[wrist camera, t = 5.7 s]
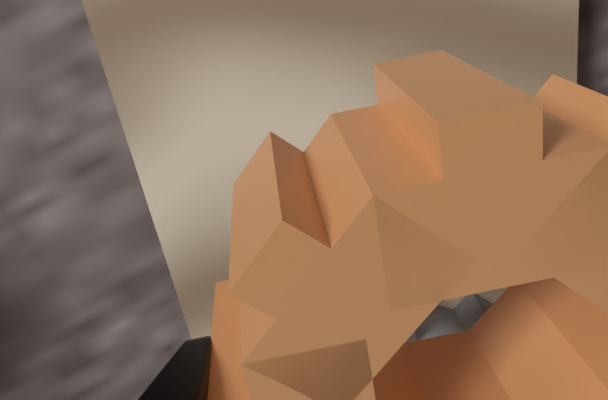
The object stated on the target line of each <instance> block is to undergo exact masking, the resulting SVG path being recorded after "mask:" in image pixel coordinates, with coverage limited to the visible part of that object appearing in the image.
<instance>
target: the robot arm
mask: <svg viewBox="0 0 608 400" xmlns="http://www.w3.org/2000/svg"><path fill="white" fill-rule="evenodd" d="M211 352H212V341H211V336H204V337H199V338H195V339H190V340H187V341H185V342H184V343H183V344H182V346H181V347H180V348H179V349H178V351H177V352H176V353H175V354H174V355H173V357H172V358H171V359H170V360H169V362H168V363H167V364H166V365H165V367H164V368H163V369H162V370H161V372H160V373H159V374H158V375H157V377H156V378H155V379H154V380H153V382H152V383H151V384H150V385H149V386H148V388H147V389H146V390H145V391H144V393H143V394H142V395H141V396H140V398H139V399H138V400H207V396H208V387H209V375H210V363H211Z"/></svg>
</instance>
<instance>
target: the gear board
mask: <svg viewBox="0 0 608 400" xmlns="http://www.w3.org/2000/svg"><path fill="white" fill-rule="evenodd" d="M81 1H82V4H83V7H84V10H85V13H86V16H87V19H88V22H89V25H90V28H91V31H92V34H93V38H94V41H95V44H96V47H97V50H98V53H99V56H100V59H101V62H102V65H103V68H104V71H105V74H106V77H107V81H108V84H109V87H110V90H111V93H112V96H113V99H114V102H115V105H116V108H117V111H118V114H119V117H120V120H121V124H122V127H123V130H124V133H125V136H126V139H127V142H128V145H129V148H130V151H131V154H132V157H133V160H134V164H135V167H136V170H137V173H138V176H139V179H140V182H141V185H142V188H143V191H144V194H145V197H146V200H147V203H148V207H149V210H150V213H151V216H152V219H153V222H154V225H155V228H156V231H157V234H158V237H159V240H160V243H161V246H162V250H163V253H164V256H165V259H166V262H167V265H168V268H169V271H170V274H171V277H172V280H173V283H174V286H175V290H176V293H177V296H178V299H179V302H180V305H181V308H182V311H183V314H184V317H185V320H186V323H187V326H188V329H189V333H190V336H191V339H195V338H199V337H204V336H211V329H212V317H213V306H214V295H215V284H216V282H221V281H226V280H229V262H230V243H231V223H232V204H233V184H234V183H235V181H236V180H237V178H238V177H239V176H240V174H241V173H242V171H243V170H244V168H245V167H246V165H247V164H248V162H249V161H250V159H251V158H252V157H253V155H254V154H255V152H256V151H257V149H258V148H259V146H260V145H261V143H262V142H263V140H264V139H265V138H266V136H267V135H268V133H269V132H270V131H271V132H272V133H274V134H276V135H277V136H279V137H280V138H282V139H284V140H285V141H287V142H288V143H290V144H291V145H293V146H295V147H296V148H298V149H299V150H301V151H302V152H304V151H305V149H306V148H307V147H308V145H309V144H310V142H311V141H312V140H313V138H314V137H315V135H316V134H317V133H318V131H319V130H320V128H321V127H322V126H323V124H324V123H325V121H326V120H327V119H328V117H329V116H330V114H333V113H338V112H343V111H348V110H353V109H358V108H363V107H368V106H373V105H378V101H377V94H376V86H375V78H374V70H373V64H374V63H379V62H384V61H389V60H394V59H399V58H404V57H409V56H414V55H419V54H424V53H429V52H434V51H439V50H443V51H445V52H447V53H449V54H451V55H453V56H455V57H457V58H458V59H460V60H462V61H464V62H466V63H468V64H470V65H472V66H474V67H476V68H478V69H480V70H482V71H484V72H486V73H488V74H490V75H492V76H494V77H496V78H498V79H500V80H502V81H504V82H506V83H507V84H509V85H511V86H513V87H515V88H517V89H519V90H521V91H523V92H525V93H527V94H529V95H531V96H533V97H534V96H535V95H536V94H537V92H538V91H539V90H540V89H541V88H542V86H543V85H544V84H545V83H546V82H547V80H548V79H549V78H550V77H551V76H552V74H553V75H556V76H558V77H561V78H563V79H566V80H568V81H571V82H573V83H576V84H577V59H578V21H579V0H81ZM507 288H508V287H505V288H501V289H496V290H491V291H486V292H481V293H476V294H471V295H467V296H462V297H457V298H452V299H447V300H442V301H441V302H440V303H439V304H438V305H437V307H436V308H435V309H434V310H433V311H432V312H431V313H430V314H429V316H428V317H427V318H426V319H425V320H424V321H423V322H422V324H421V325H420V326H419V327H418V328H417V329H416V330H415V331H414V333H413V334H412V335H411V336H410V337H409V338H408V339H407V341H406V342H405V343H407V342H412V341H417V340H422V339H427V338H431V337H436V336H441V335H446V334H451V333H456V332H460V331H465V330H470V328H471V327H472V326H473V325H474V324H475V323H476V322H477V321H478V320H479V319H480V318H481V316H482V315H483V314H484V313H485V312H486V311H487V310H488V309H489V308H490V307H491V306H492V305H493V303H494V302H495V301H496V300H497V299H498V298H499V297H500V296H501V295H502V294H503V293H504V291H505V290H506V289H507Z"/></svg>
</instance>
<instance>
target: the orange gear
mask: <svg viewBox="0 0 608 400" xmlns="http://www.w3.org/2000/svg"><path fill="white" fill-rule="evenodd" d="M373 70H374V78H375V86H376V94H377V101H378V105H373V106H368V107H363V108H358V109H353V110H348V111H343V112H338V113H333V114H330V116H329V117H328V119H327V120H326V121H325V123H324V124H323V126H322V127H321V128H320V130H319V131H318V133H317V134H316V135H315V137H314V138H313V140H312V141H311V142H310V144H309V145H308V147H307V148H306V149H305V151H304V152H302V151H301V150H299V149H298V148H296V147H295V146H293V145H291V144H290V143H288V142H287V141H285V140H284V139H282V138H280V137H279V136H277V135H276V134H274V133H272V132H271V131H270V132H269V133H268V135H267V136H266V138H265V139H264V140H263V142H262V143H261V145H260V146H259V148H258V149H257V151H256V152H255V154H254V155H253V157H252V158H251V159H250V161H249V162H248V164H247V165H246V167H245V168H244V170H243V171H242V173H241V174H240V176H239V177H238V178H237V180H236V181H235V183H234V184H233V204H232V223H231V243H230V262H229V280H226V281H221V282H216V284H215V295H214V306H213V317H212V329H211V341H212V352H211V363H210V375H209V387H208V396H207V400H608V96H605V95H603V94H600V93H598V92H595V91H593V90H591V89H588V88H586V87H583V86H581V85H578V84H576V83H573V82H571V81H568V80H566V79H563V78H561V77H558V76H556V75H553V74H552V76H551V77H550V78H549V79H548V80H547V82H546V83H545V84H544V85H543V86H542V88H541V89H540V90H539V91H538V92H537V94H536V95H535V96H534V97H533V96H531V95H529V94H527V93H525V92H523V91H521V90H519V89H517V88H515V87H513V86H511V85H509V84H507V83H506V82H504V81H502V80H500V79H498V78H496V77H494V76H492V75H490V74H488V73H486V72H484V71H482V70H480V69H478V68H476V67H474V66H472V65H470V64H468V63H466V62H464V61H462V60H460V59H458V58H457V57H455V56H453V55H451V54H449V53H447V52H445V51H443V50H439V51H434V52H429V53H424V54H419V55H414V56H409V57H404V58H399V59H394V60H389V61H384V62H379V63H374V64H373ZM505 287H508V288H507V289H506V290H505V291H504V293H503V294H502V295H501V296H500V297H499V298H498V299H497V300H496V301H495V302H494V303H493V305H492V306H491V307H490V308H489V309H488V310H487V311H486V312H485V313H484V314H483V315H482V316H481V318H480V319H479V320H478V321H477V322H476V323H475V324H474V325H473V326H472V327H471V328H470V330H465V331H460V332H456V333H451V334H446V335H441V336H436V337H431V338H427V339H422V340H417V341H412V342H407V343H405V342H406V341H407V339H408V338H409V337H410V336H411V335H412V334H413V333H414V331H415V330H416V329H417V328H418V327H419V326H420V325H421V324H422V322H423V321H424V320H425V319H426V318H427V317H428V316H429V314H430V313H431V312H432V311H433V310H434V309H435V308H436V307H437V305H438V304H439V303H440V302H441V301H442V300H447V299H452V298H457V297H462V296H467V295H471V294H476V293H481V292H486V291H491V290H496V289H501V288H505Z"/></svg>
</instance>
